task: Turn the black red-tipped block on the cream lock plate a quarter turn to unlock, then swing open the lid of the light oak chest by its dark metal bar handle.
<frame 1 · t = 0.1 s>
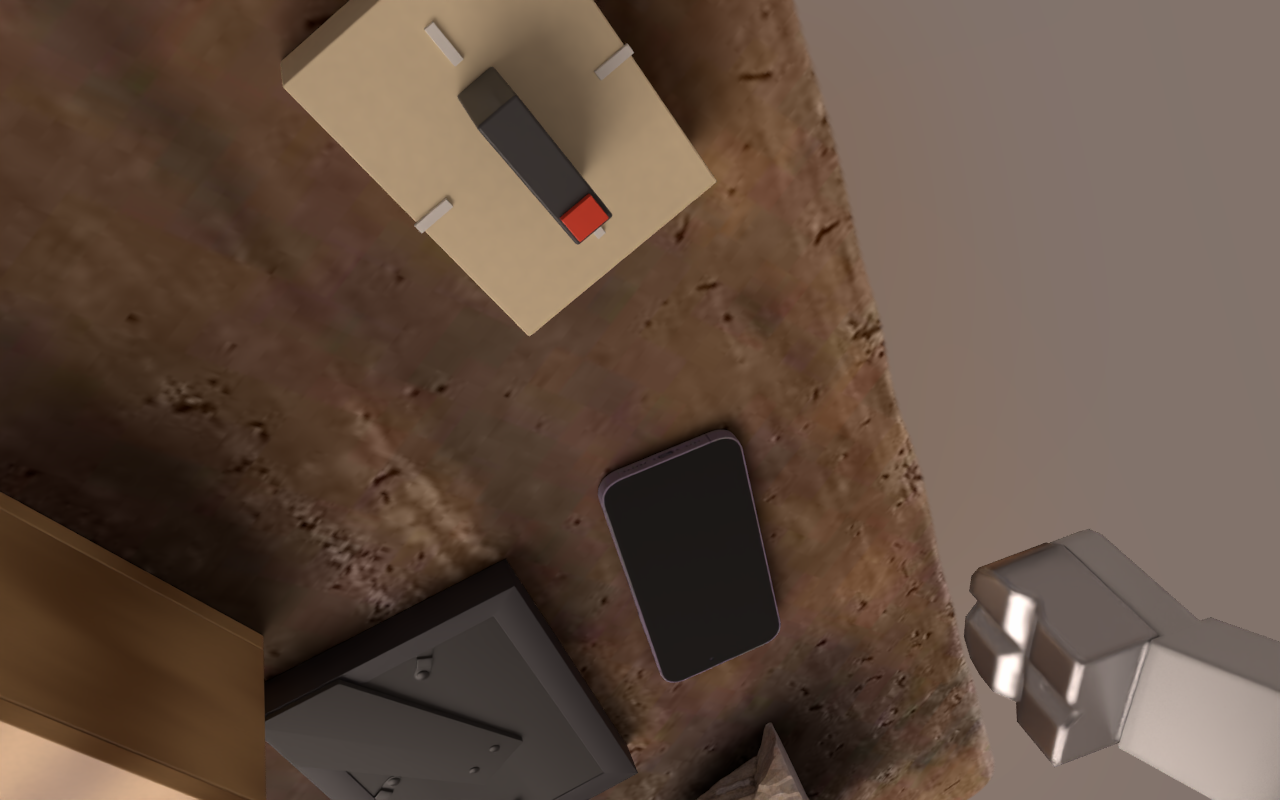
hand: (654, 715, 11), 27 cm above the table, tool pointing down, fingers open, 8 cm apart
black red-tipped block: (536, 157, 30), point 5 cm above the table, hinge at 0.0°
lock plate: (503, 113, 34), on the table
chest: (26, 649, 39), on the table
picture frame: (459, 718, 50), on the table
smartphone: (691, 554, 49), on the table
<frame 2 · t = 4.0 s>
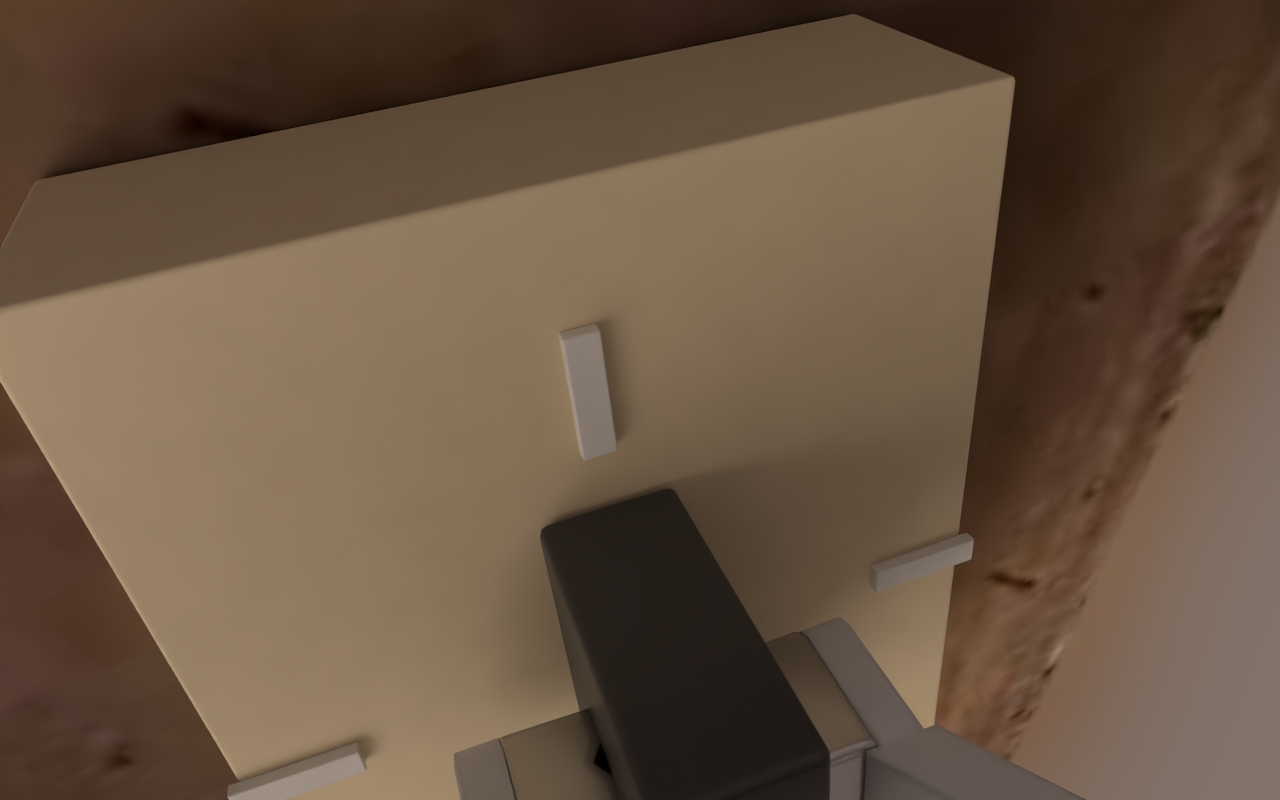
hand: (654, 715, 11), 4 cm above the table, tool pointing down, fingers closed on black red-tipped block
black red-tipped block: (690, 794, 10), point 5 cm above the table, hinge at 0.2°, touching gripper
lock plate: (564, 504, 14), on the table
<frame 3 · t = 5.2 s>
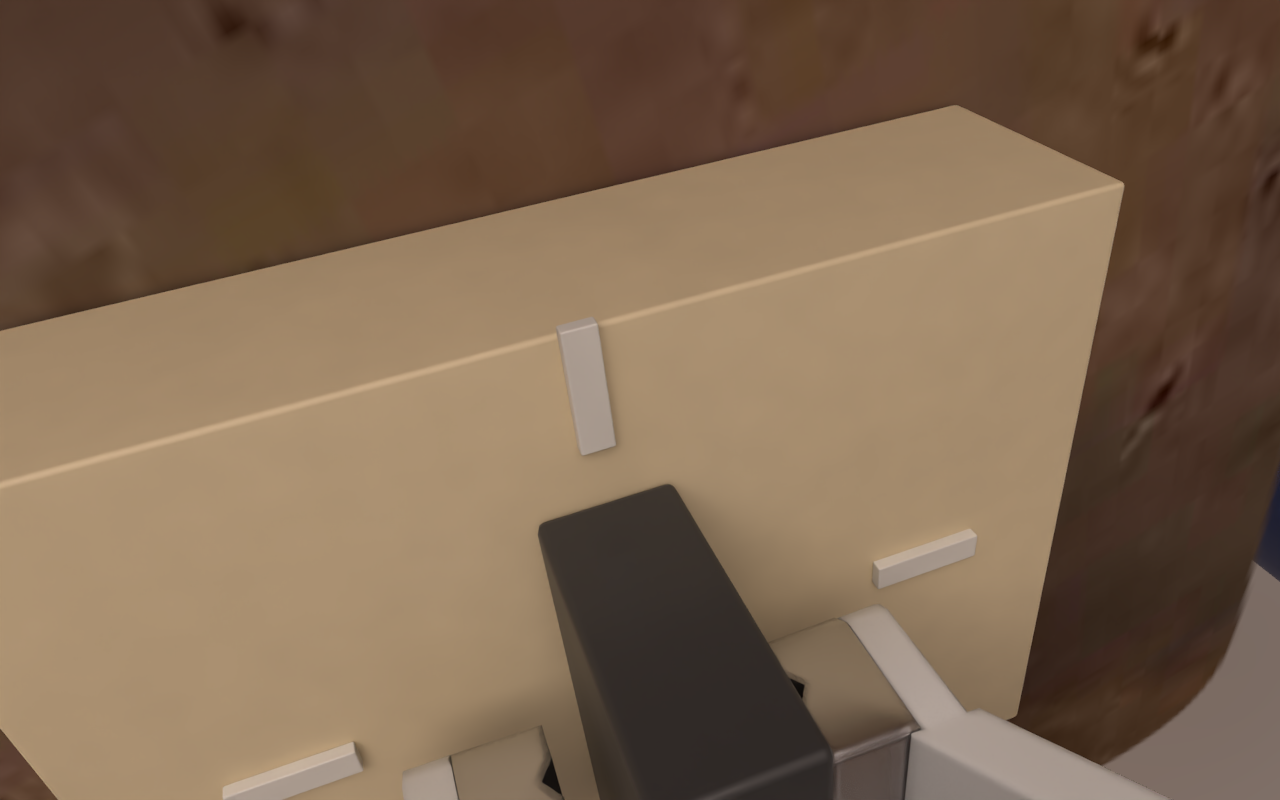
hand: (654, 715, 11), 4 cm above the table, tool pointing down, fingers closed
black red-tipped block: (690, 793, 10), point 5 cm above the table, hinge at 90.2°
lock plate: (563, 501, 14), on the table
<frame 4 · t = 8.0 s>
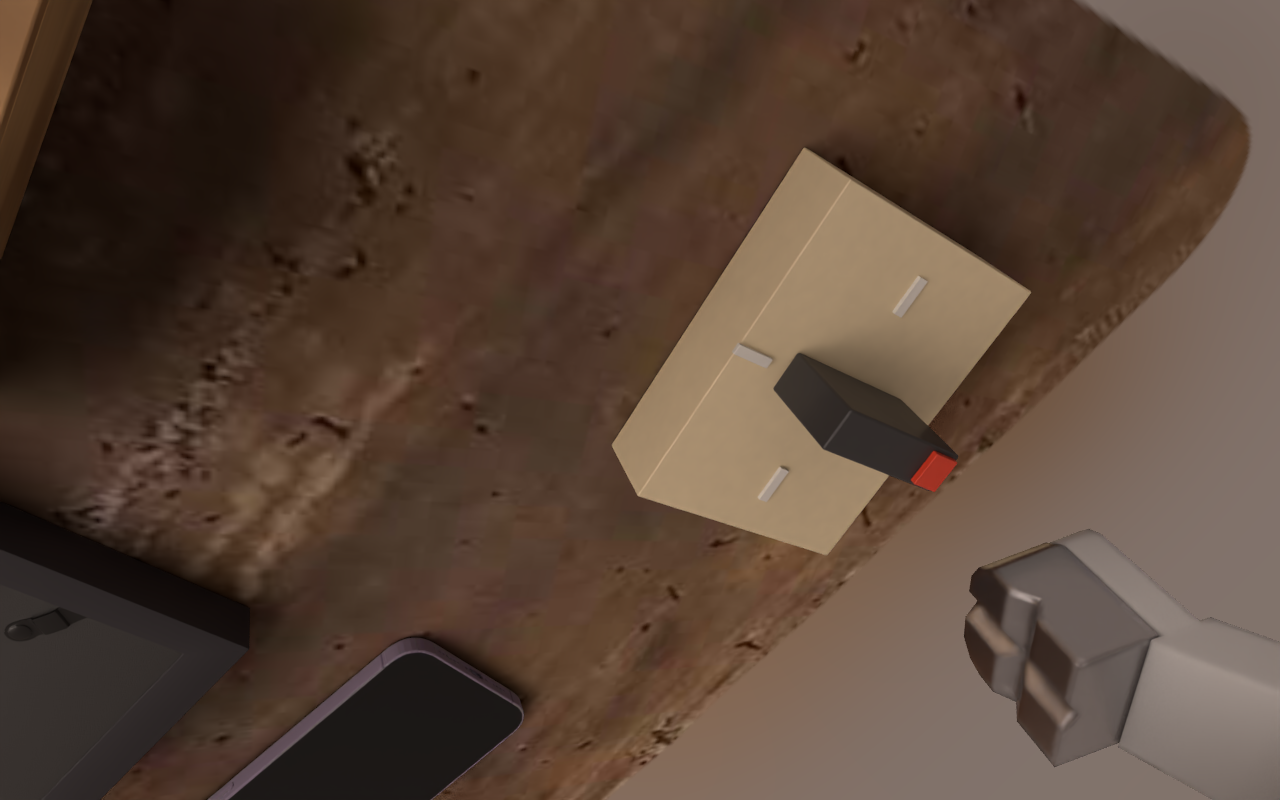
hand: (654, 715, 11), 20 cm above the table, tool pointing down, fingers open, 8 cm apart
black red-tipped block: (866, 424, 30), point 5 cm above the table, hinge at 90.2°
lock plate: (797, 349, 34), on the table
smartphone: (333, 774, 38), on the table
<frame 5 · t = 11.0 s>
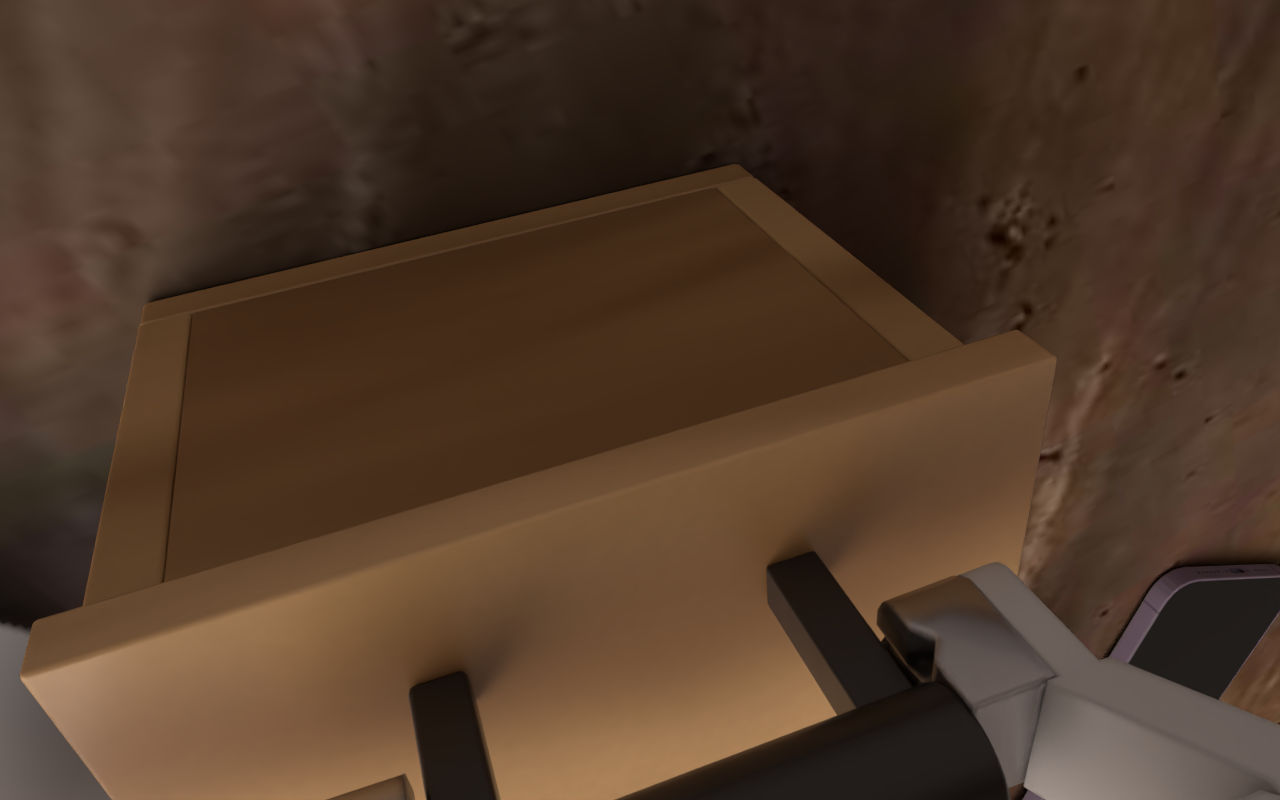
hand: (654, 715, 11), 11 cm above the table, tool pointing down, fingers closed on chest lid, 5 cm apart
chest: (521, 493, 22), on the table
smartphone: (1126, 702, 39), on the table
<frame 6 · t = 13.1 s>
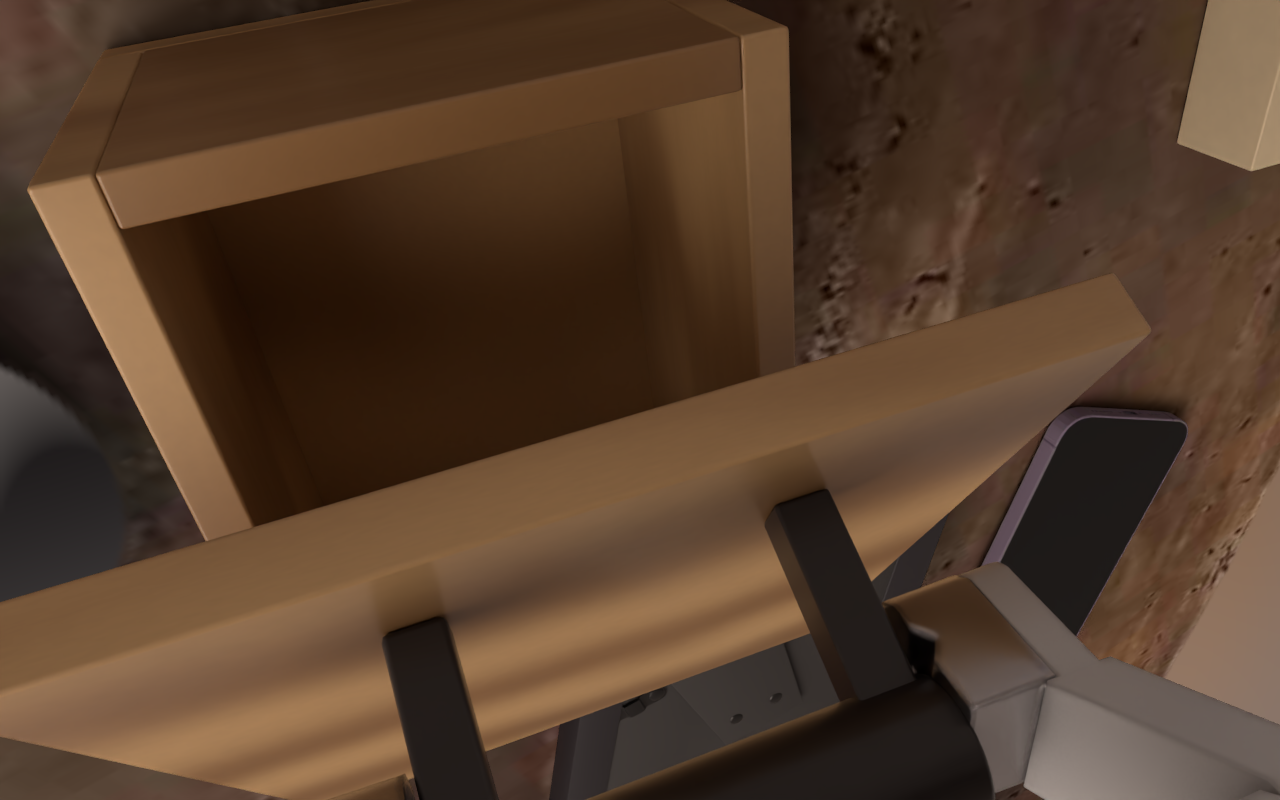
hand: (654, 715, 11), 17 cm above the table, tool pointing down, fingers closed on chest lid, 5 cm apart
chest: (445, 269, 25), on the table
picture frame: (724, 649, 38), on the table
smartphone: (1039, 551, 42), on the table
chest lid: (628, 746, 15), point 15 cm above the table, hinge at 31.1°, touching gripper
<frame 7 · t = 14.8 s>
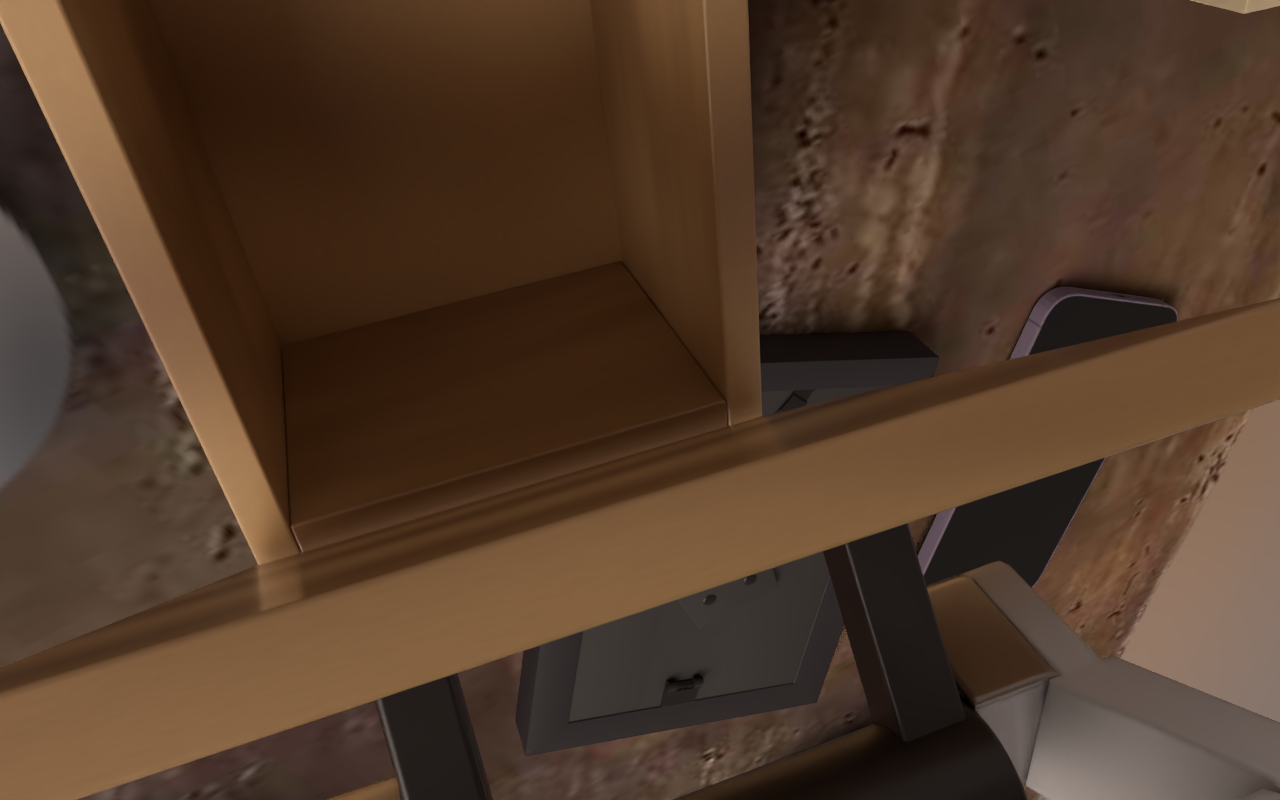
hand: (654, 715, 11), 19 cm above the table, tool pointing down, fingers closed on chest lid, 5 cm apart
chest: (402, 83, 24), on the table
picture frame: (699, 532, 37), on the table
smartphone: (1024, 446, 41), on the table
chest lid: (603, 636, 14), point 16 cm above the table, hinge at 51.7°, touching gripper
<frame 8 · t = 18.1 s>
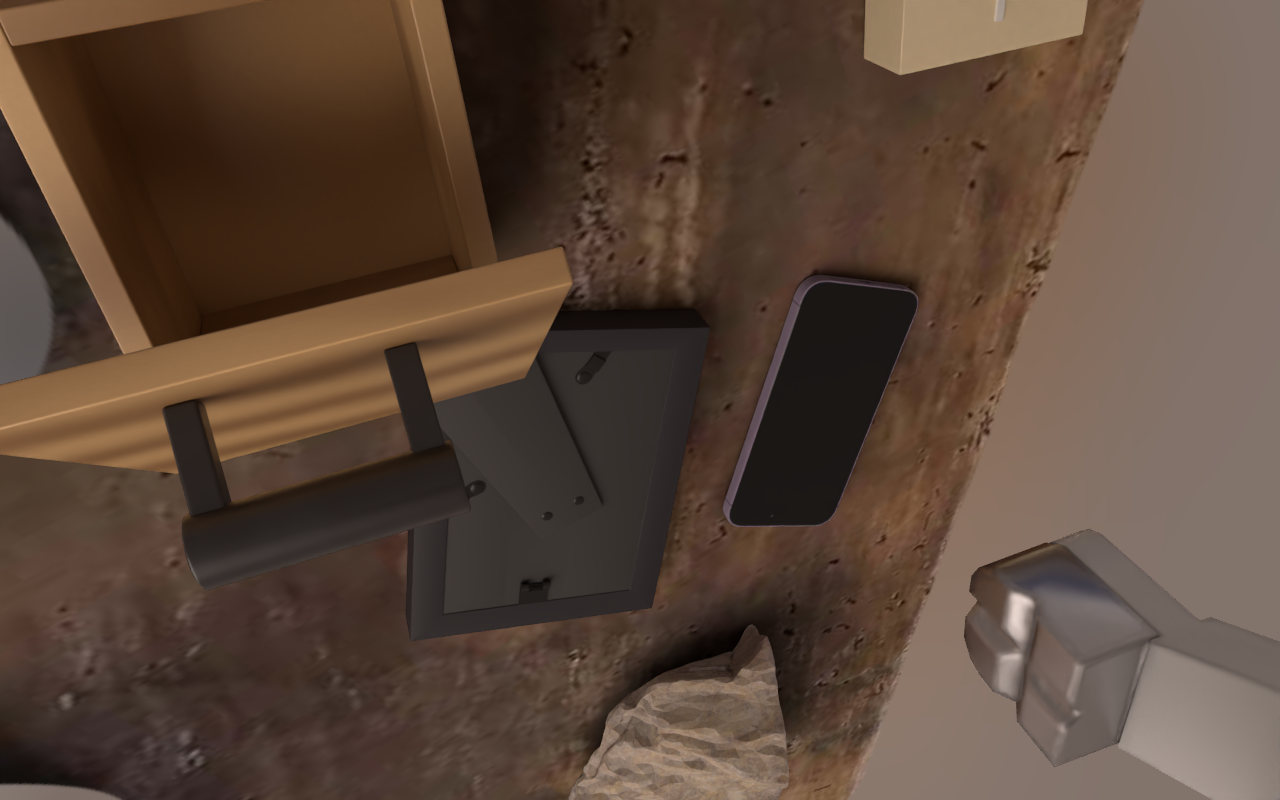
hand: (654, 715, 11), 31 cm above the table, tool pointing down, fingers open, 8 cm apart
chest: (281, 131, 35), on the table
picture frame: (543, 466, 48), on the table
smartphone: (810, 402, 52), on the table
rock: (660, 706, 62), on the table
chest lid: (342, 455, 25), point 16 cm above the table, hinge at 50.8°
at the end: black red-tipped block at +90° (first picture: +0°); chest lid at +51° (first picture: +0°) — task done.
